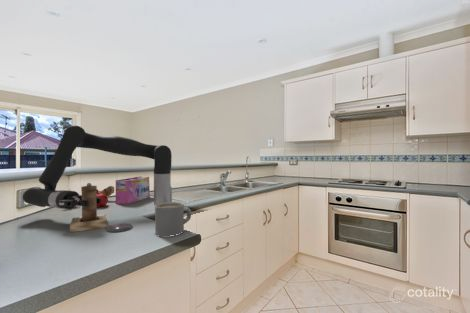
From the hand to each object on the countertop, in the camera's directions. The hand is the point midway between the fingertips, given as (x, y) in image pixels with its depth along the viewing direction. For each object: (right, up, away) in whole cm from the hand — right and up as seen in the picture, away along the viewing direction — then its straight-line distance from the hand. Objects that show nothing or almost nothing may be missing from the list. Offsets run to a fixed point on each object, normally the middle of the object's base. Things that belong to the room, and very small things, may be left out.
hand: (94, 202), depth 94 cm
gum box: (-7, -9, +53) cm, 54 cm away
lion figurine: (-25, -9, +51) cm, 58 cm away
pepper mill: (-2, -10, +1) cm, 10 cm away
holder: (-2, -10, +1) cm, 10 cm away
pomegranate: (-19, -10, +36) cm, 42 cm away
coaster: (+12, -10, -3) cm, 15 cm away
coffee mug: (+34, -10, -7) cm, 36 cm away
